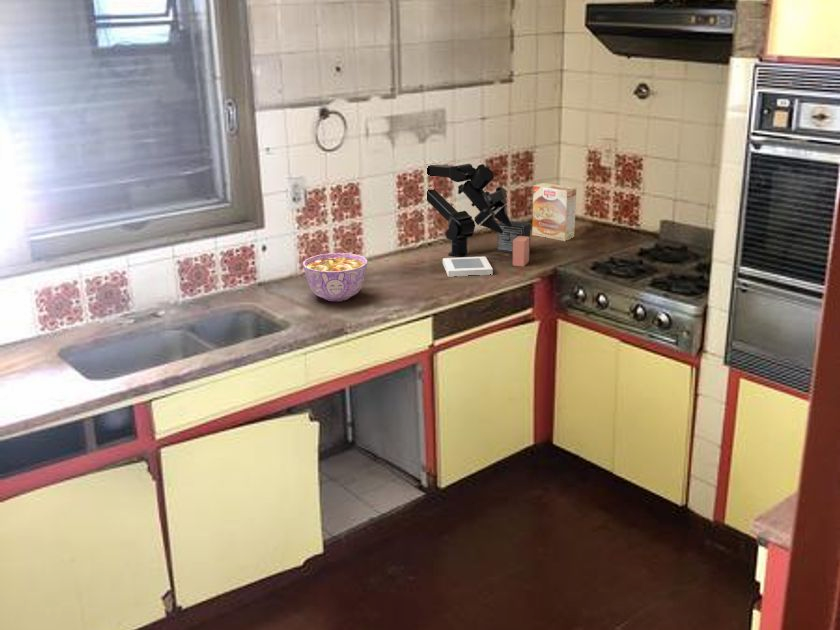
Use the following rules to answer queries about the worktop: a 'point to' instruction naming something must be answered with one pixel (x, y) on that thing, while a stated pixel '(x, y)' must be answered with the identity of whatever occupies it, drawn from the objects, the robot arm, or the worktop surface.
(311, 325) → the worktop surface
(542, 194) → the coffeecake box
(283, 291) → the worktop surface
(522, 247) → the slim brick
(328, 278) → the bowl of food
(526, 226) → the small box
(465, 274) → the base plate
